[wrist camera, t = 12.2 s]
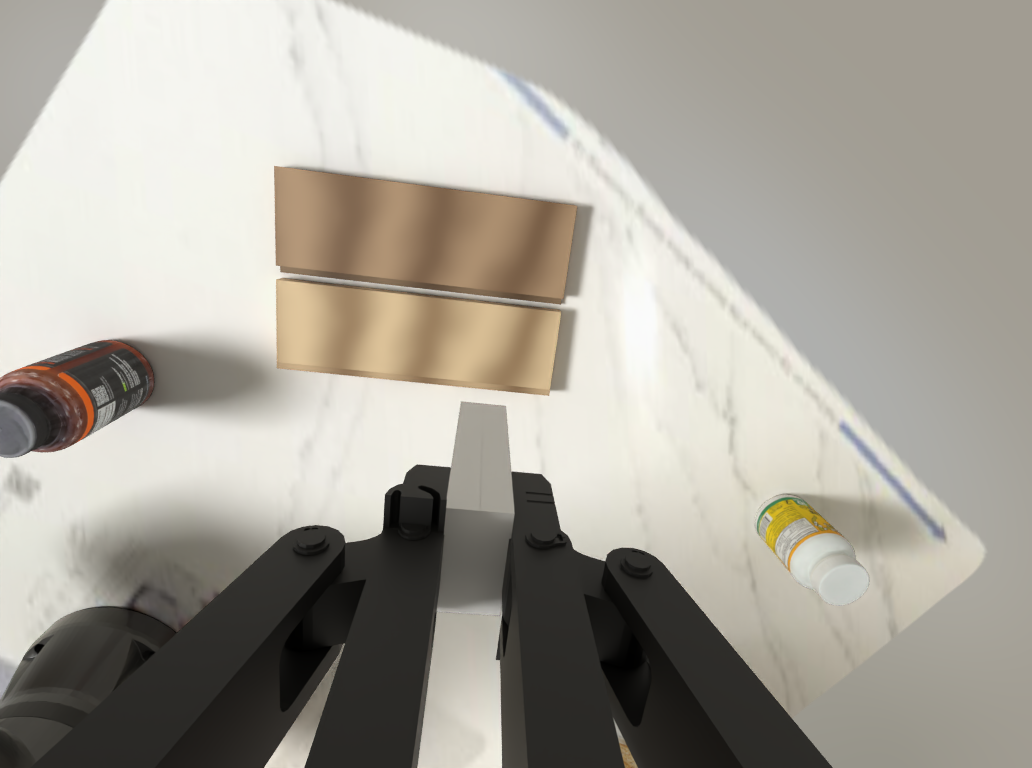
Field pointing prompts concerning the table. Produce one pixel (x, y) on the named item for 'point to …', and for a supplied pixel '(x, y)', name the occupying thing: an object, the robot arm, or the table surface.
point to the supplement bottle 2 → (811, 549)
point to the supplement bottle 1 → (70, 396)
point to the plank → (414, 337)
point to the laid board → (421, 236)
